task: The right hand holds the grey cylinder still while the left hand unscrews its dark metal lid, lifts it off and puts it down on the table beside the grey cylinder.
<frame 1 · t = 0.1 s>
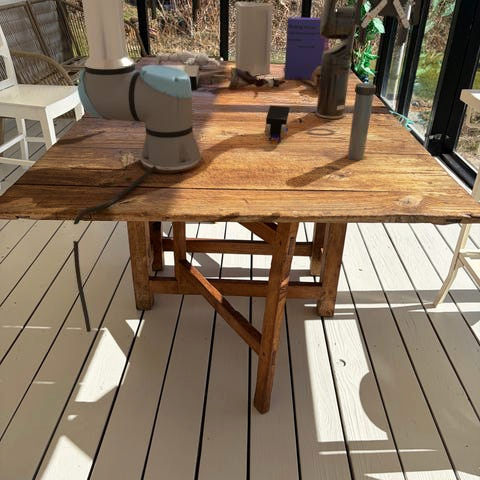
left hand: (174, 20, 152), 28 cm above the table, tool pointing down, fingers open, 13 cm apart
right hand: (380, 45, 108), 29 cm above the table, tool pointing down, fingers open, 8 cm apart
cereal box: (304, 78, 208), on the table
anatomical model: (320, 89, 192), on the table
lid: (365, 86, 119), point 19 cm above the table, screwed on, not yet turned
toy: (188, 67, 225), on the table
figurine character: (276, 137, 142), on the table
figurine: (247, 88, 192), on the table
grey cylinder: (355, 157, 129), on the table
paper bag: (253, 72, 218), on the table
disc drive: (177, 83, 198), on the table
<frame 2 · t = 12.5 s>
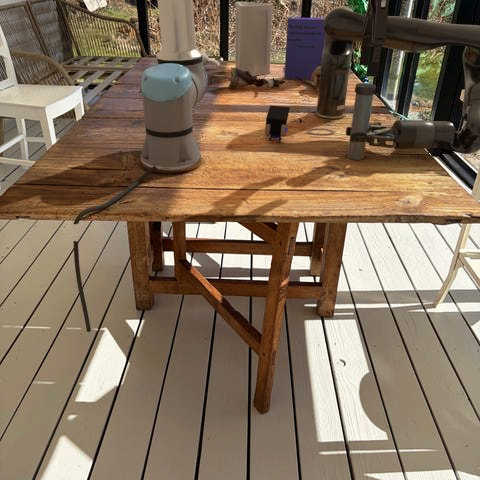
left hand: (368, 70, 117), 22 cm above the table, tool pointing down, fingers open, 12 cm apart
right hand: (348, 134, 125), 6 cm above the table, tool horizontal, fingers closed on grey cylinder, 4 cm apart
grey cylinder: (355, 157, 129), on the table, touching right hand
everything else where it was.
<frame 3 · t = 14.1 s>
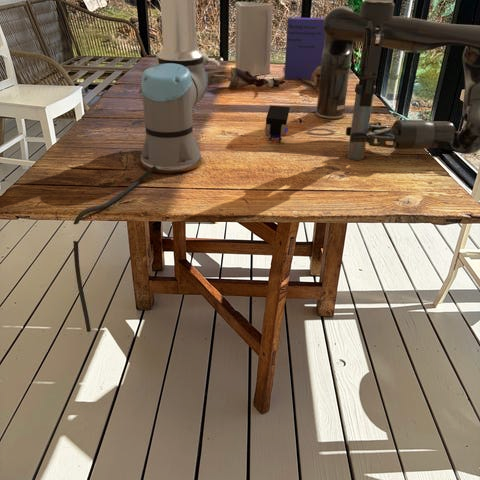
left hand: (363, 102, 121), 15 cm above the table, tool pointing down, fingers closed on lid, 5 cm apart
right hand: (348, 134, 125), 6 cm above the table, tool horizontal, fingers closed on grey cylinder, 4 cm apart
lid: (365, 86, 119), point 19 cm above the table, screwed on, not yet turned, touching left hand
grey cylinder: (355, 157, 129), on the table, touching right hand
everything else where it was.
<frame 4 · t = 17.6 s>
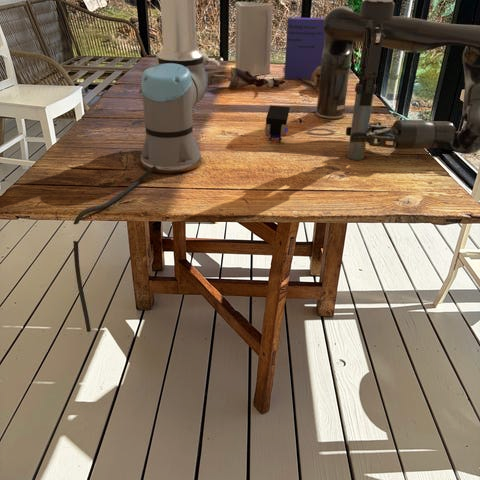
left hand: (363, 102, 121), 15 cm above the table, tool pointing down, fingers closed on lid, 5 cm apart
right hand: (348, 134, 125), 6 cm above the table, tool horizontal, fingers closed on grey cylinder, 4 cm apart
lid: (365, 86, 119), point 19 cm above the table, turned 115° so far, risen 0.2 cm, still on its thread, touching left hand
grey cylinder: (355, 157, 129), on the table, touching right hand
everything else where it was.
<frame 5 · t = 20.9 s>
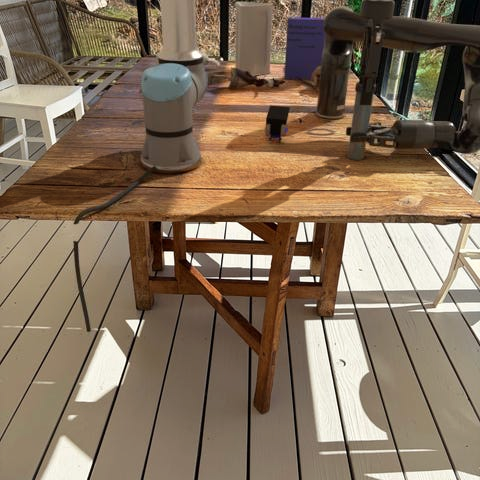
left hand: (363, 101, 121), 15 cm above the table, tool pointing down, fingers closed on lid, 5 cm apart
right hand: (348, 134, 125), 6 cm above the table, tool horizontal, fingers closed on grey cylinder, 4 cm apart
lid: (366, 85, 119), point 19 cm above the table, turned 231° so far, risen 0.3 cm, still on its thread, touching left hand
grey cylinder: (355, 157, 129), on the table, touching right hand
everything else where it was.
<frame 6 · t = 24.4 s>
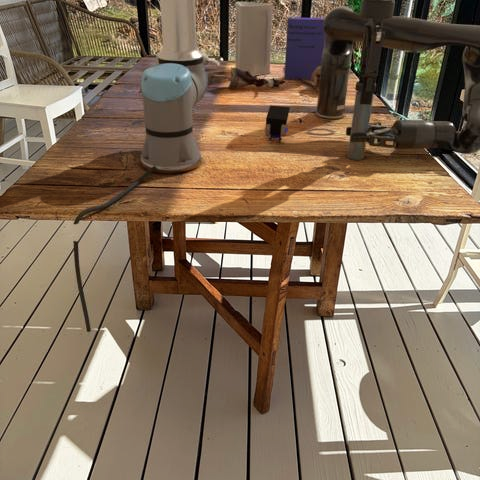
left hand: (363, 100, 121), 15 cm above the table, tool pointing down, fingers closed on lid, 5 cm apart
right hand: (348, 134, 125), 6 cm above the table, tool horizontal, fingers closed on grey cylinder, 4 cm apart
lid: (366, 84, 119), point 19 cm above the table, turned 346° so far, risen 0.5 cm, still on its thread, touching left hand
grey cylinder: (355, 157, 129), on the table, touching right hand
everything else where it was.
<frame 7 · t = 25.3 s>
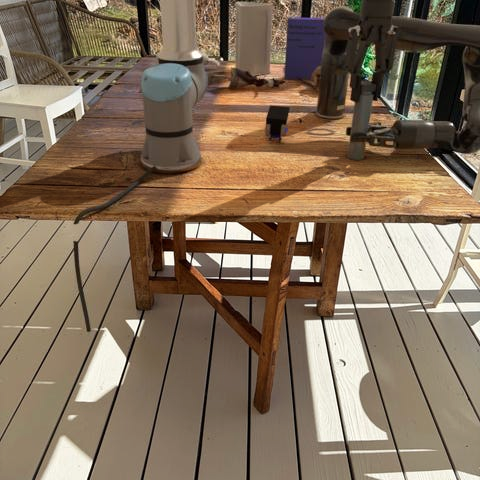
left hand: (363, 100, 121), 15 cm above the table, tool pointing down, fingers closed on lid, 5 cm apart
right hand: (348, 134, 125), 6 cm above the table, tool horizontal, fingers closed on grey cylinder, 4 cm apart
lid: (366, 84, 119), point 19 cm above the table, off its thread, touching left hand
grey cylinder: (355, 157, 129), on the table, touching right hand
everything else where it was.
when the left hand's fingers open (0 cm above the table, at t = 31.2 s): lid drops 3 cm, point 1 cm above the table.
when the right hand's fingers open (6 cm above the table, at t = 31.8 s): grey cylinder stays where it is, on the table.
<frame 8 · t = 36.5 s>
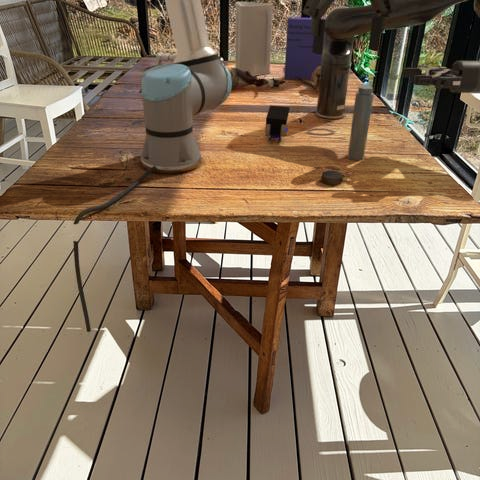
left hand: (345, 52, 100), 29 cm above the table, tool pointing down, fingers open, 13 cm apart
right hand: (408, 76, 118), 21 cm above the table, tool horizontal, fingers open, 8 cm apart
lid: (332, 175, 114), point 1 cm above the table, off its thread
grey cylinder: (355, 157, 129), on the table
everything else where it was.
at the end: lid came off its thread; lid point 1.4 cm above the table; the left hand is holding nothing; the right hand is holding nothing; grey cylinder tilted 0°; grey cylinder moved 0.0 cm from its start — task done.
